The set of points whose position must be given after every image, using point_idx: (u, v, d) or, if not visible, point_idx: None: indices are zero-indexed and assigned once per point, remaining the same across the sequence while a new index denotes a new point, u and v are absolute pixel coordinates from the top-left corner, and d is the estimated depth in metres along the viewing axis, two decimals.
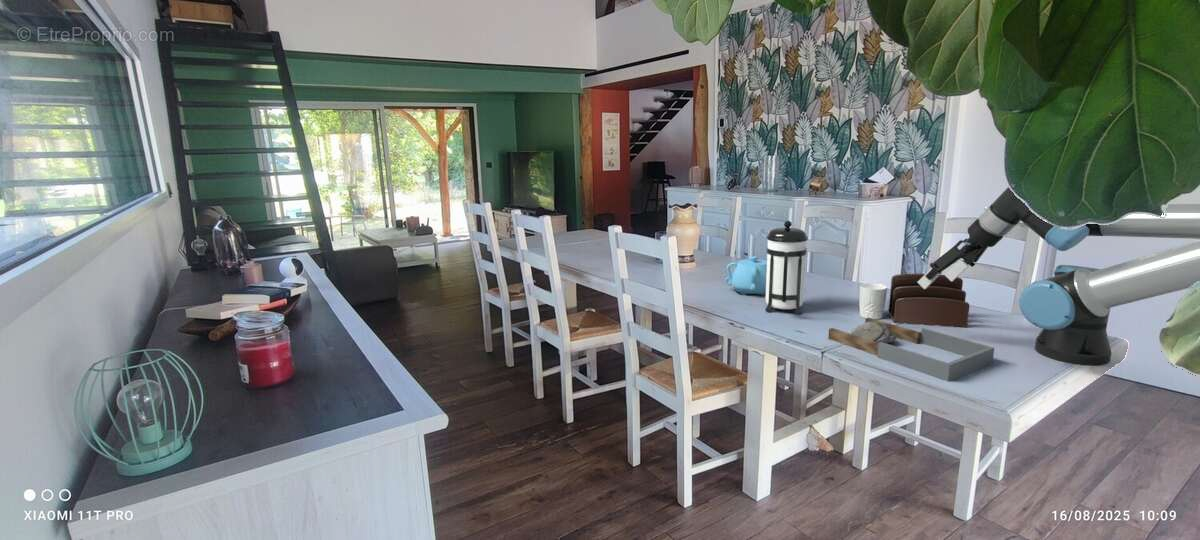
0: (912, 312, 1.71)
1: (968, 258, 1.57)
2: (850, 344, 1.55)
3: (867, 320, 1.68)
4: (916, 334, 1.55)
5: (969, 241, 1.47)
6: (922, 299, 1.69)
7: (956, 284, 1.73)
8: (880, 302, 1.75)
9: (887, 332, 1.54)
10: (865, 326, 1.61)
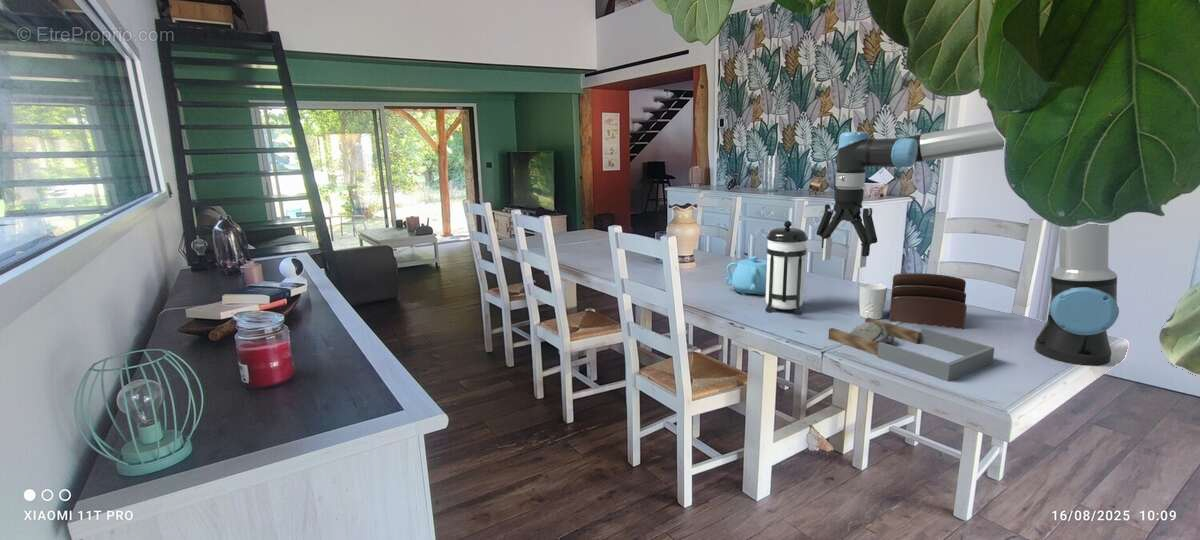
0: (908, 311, 1.72)
1: (831, 231, 1.66)
2: (850, 344, 1.55)
3: (867, 320, 1.68)
4: (916, 334, 1.55)
5: (859, 205, 1.57)
6: (918, 298, 1.70)
7: (959, 285, 1.72)
8: (880, 302, 1.75)
9: (885, 332, 1.54)
10: (863, 326, 1.60)
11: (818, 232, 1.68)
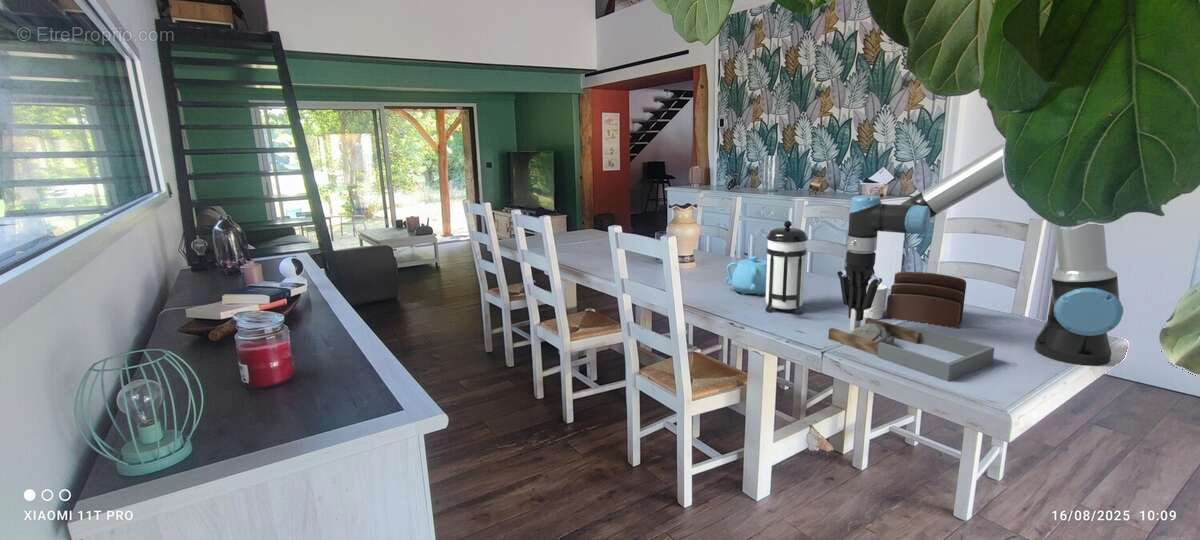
0: (903, 309, 1.74)
1: (855, 297, 1.62)
2: (850, 344, 1.55)
3: (867, 320, 1.68)
4: (916, 334, 1.55)
5: (871, 269, 1.56)
6: (913, 296, 1.72)
7: (959, 285, 1.72)
8: (880, 302, 1.75)
9: (884, 334, 1.52)
10: (864, 327, 1.59)
11: (844, 301, 1.64)
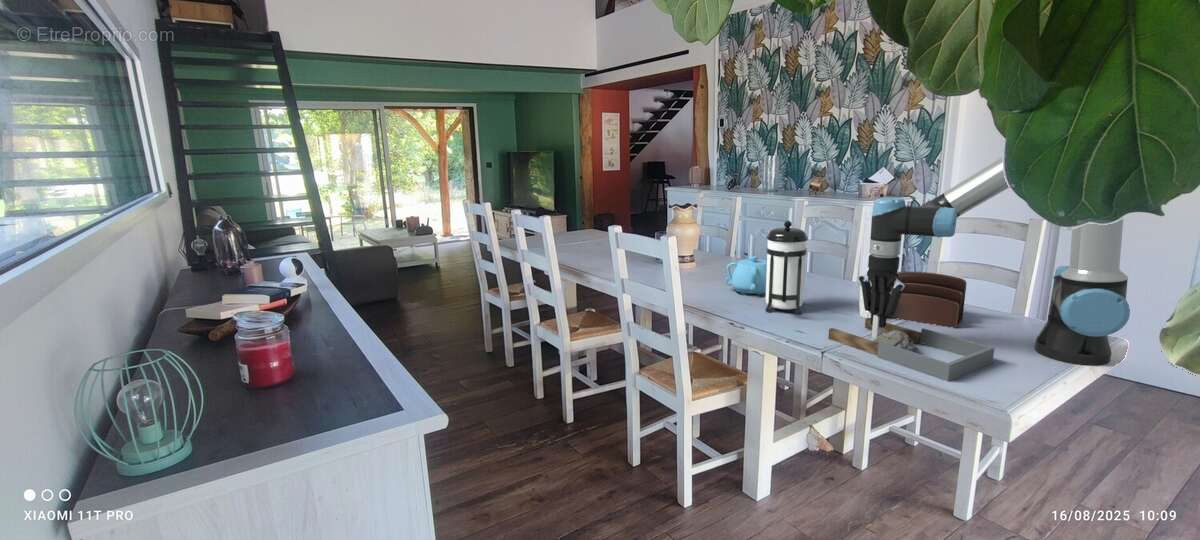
0: (902, 308, 1.75)
1: (878, 303, 1.56)
2: (850, 344, 1.55)
3: (867, 320, 1.68)
4: (916, 334, 1.55)
5: (895, 274, 1.50)
6: (912, 296, 1.73)
7: (959, 285, 1.72)
8: None
9: (905, 342, 1.46)
10: (889, 334, 1.53)
11: (866, 307, 1.58)
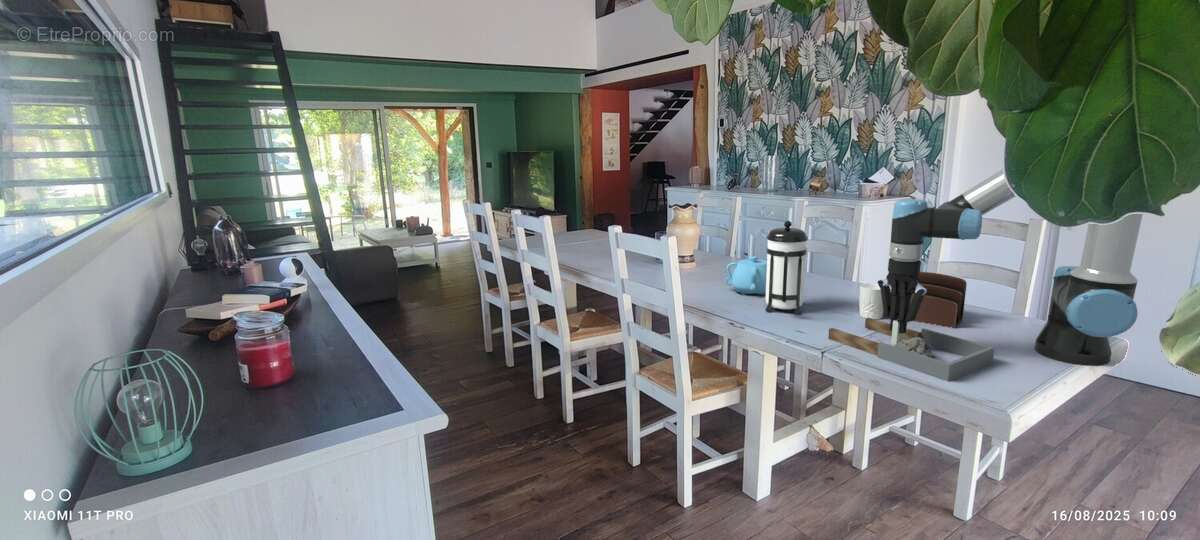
0: None
1: (897, 308, 1.51)
2: (850, 344, 1.55)
3: (867, 320, 1.68)
4: (916, 334, 1.55)
5: (916, 279, 1.45)
6: None
7: (959, 285, 1.71)
8: (880, 302, 1.75)
9: (920, 349, 1.41)
10: (910, 340, 1.48)
11: (885, 312, 1.53)
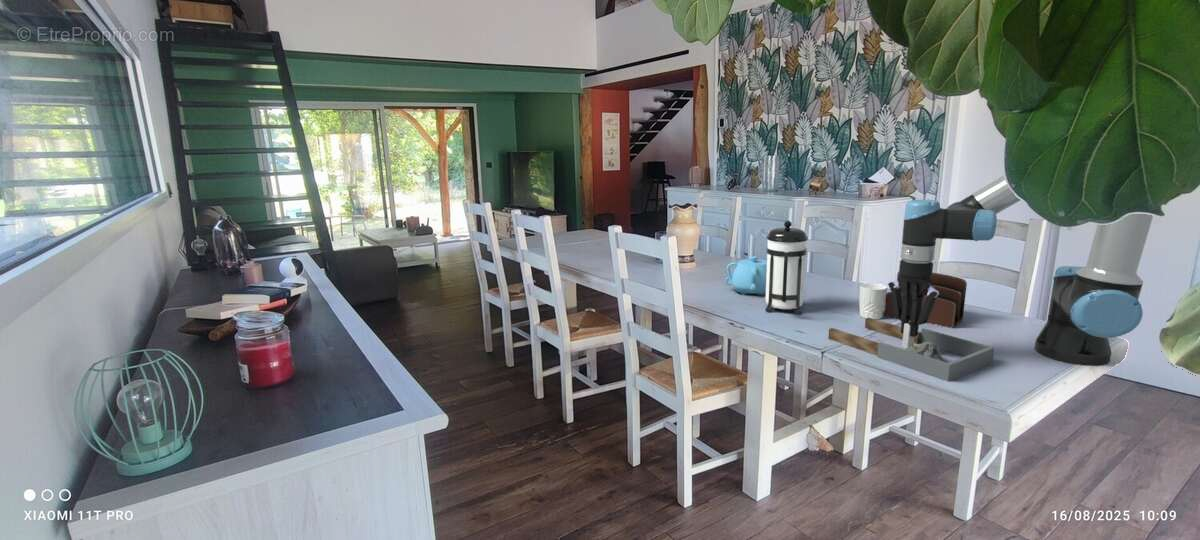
0: None
1: (909, 311, 1.48)
2: (850, 344, 1.55)
3: (867, 320, 1.68)
4: None
5: (928, 281, 1.42)
6: None
7: (960, 285, 1.71)
8: (880, 302, 1.75)
9: (928, 353, 1.39)
10: (921, 344, 1.45)
11: (896, 315, 1.50)
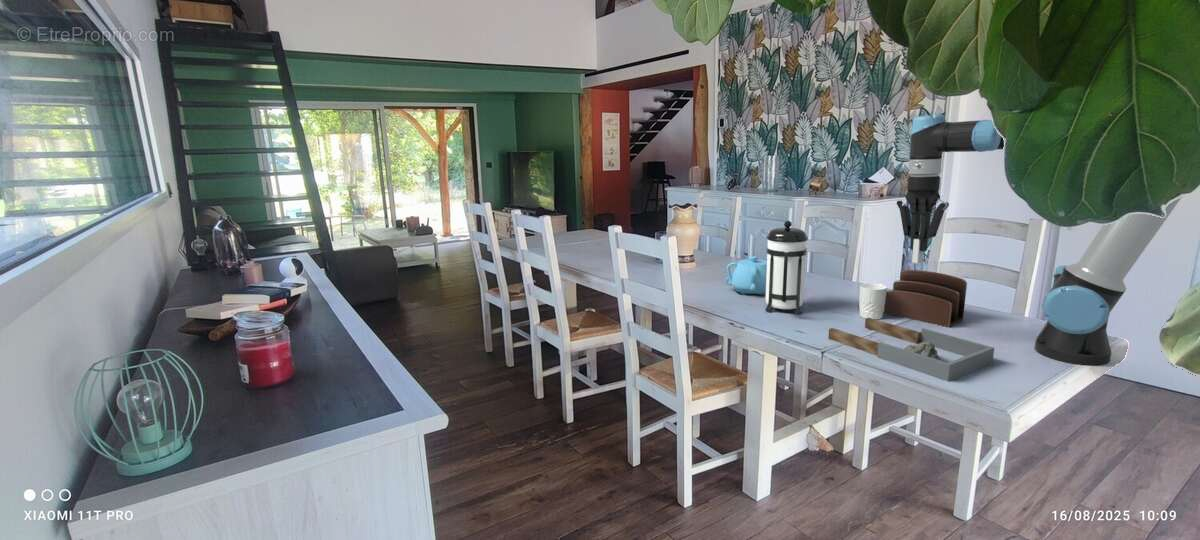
0: (899, 305, 1.78)
1: (917, 227, 1.53)
2: (850, 344, 1.55)
3: (867, 320, 1.68)
4: (916, 334, 1.55)
5: (936, 194, 1.47)
6: (909, 293, 1.75)
7: (960, 286, 1.71)
8: (880, 302, 1.75)
9: (925, 353, 1.39)
10: (919, 344, 1.46)
11: (905, 232, 1.54)
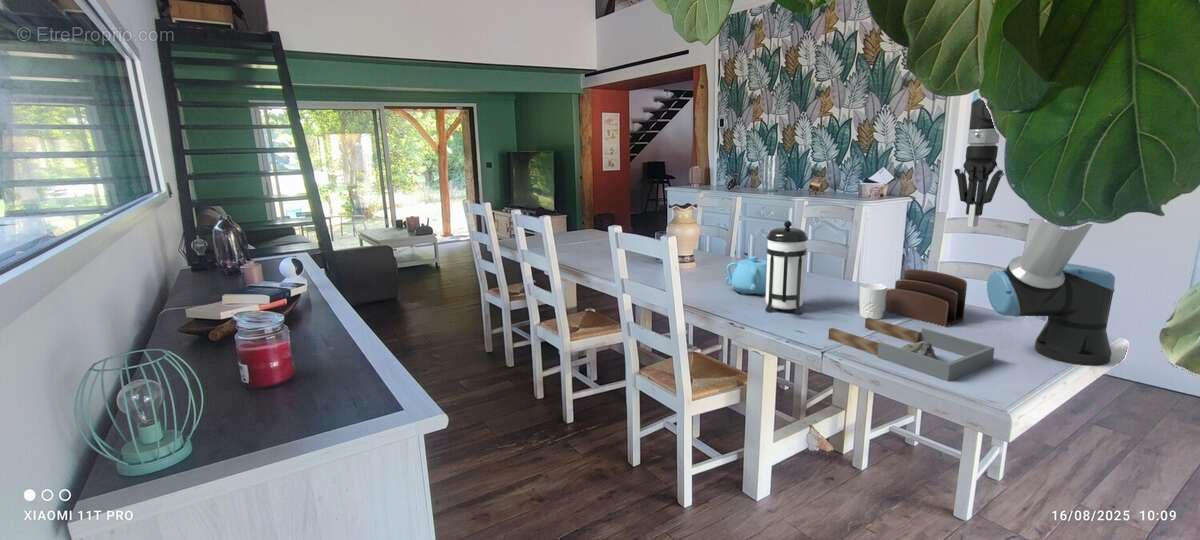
0: (899, 304, 1.80)
1: (974, 193, 1.65)
2: (850, 344, 1.55)
3: (867, 320, 1.68)
4: (916, 334, 1.55)
5: (994, 162, 1.59)
6: (908, 292, 1.77)
7: (960, 286, 1.71)
8: (880, 302, 1.75)
9: (921, 352, 1.40)
10: (917, 343, 1.46)
11: (962, 198, 1.67)
